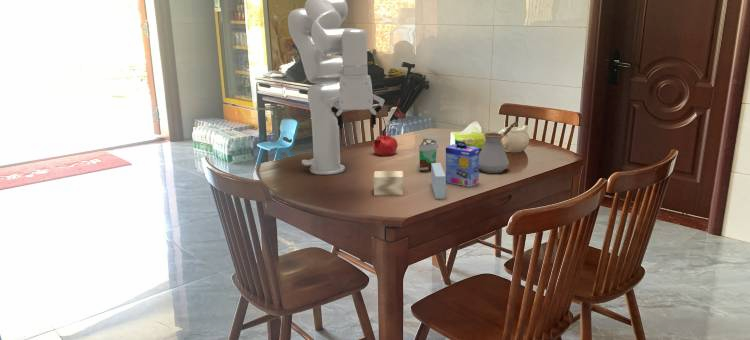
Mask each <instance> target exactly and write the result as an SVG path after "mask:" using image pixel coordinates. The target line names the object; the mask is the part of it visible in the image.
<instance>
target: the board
mask: <svg viewBox="0 0 750 340" xmlns="http://www.w3.org/2000/svg"><path fill="white" fill-rule="evenodd" d="M430 172H431V173H430V174H431V175H430V176H431V177H430V180H431V181H430V183H431V188H432V191H433V195H434V198H435V200H436V199H437V200H440V199H443V200H444V199H446V190H447V189H446V186H447V185H446V183H447V182H446V172H445V171H444V168H443V166H442V163H441V162H436V163H431V171H430Z"/></svg>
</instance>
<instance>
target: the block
mask: <svg viewBox="0 0 750 340" xmlns="http://www.w3.org/2000/svg"><path fill="white" fill-rule="evenodd" d="M373 190H374V191H373V195H374V196H404V171H403V170H381V171H380V170H377V171H376V170H375V171H374V173H373Z"/></svg>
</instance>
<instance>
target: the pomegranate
mask: <svg viewBox="0 0 750 340" xmlns="http://www.w3.org/2000/svg"><path fill="white" fill-rule="evenodd" d="M398 145H399V144H398V140H397V139H396V138H395V137H393V135H392V134H387V131H384V132H383V135H382V134H380V135H377V136H376V137H375V139H374V141H373V142H372V148H373V152H374V153H375V154H376V155H378V156H381V157H386V156H393V155H394V154H395V153H396V152H397V150H398V149H397V148H398V147H399V146H398Z"/></svg>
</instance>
